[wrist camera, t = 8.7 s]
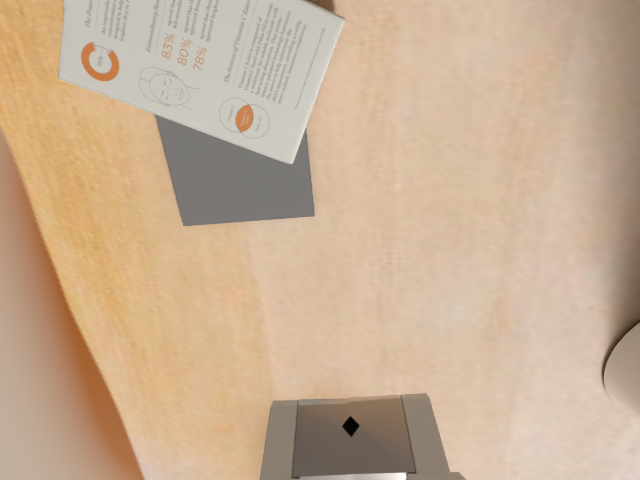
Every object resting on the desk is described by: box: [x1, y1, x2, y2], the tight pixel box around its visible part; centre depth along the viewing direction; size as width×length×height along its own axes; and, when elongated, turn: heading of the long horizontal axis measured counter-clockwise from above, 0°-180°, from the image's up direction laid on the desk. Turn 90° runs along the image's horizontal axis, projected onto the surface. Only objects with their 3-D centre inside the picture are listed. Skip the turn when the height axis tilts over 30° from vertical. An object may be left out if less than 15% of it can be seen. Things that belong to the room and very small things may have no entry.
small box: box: [58, 0, 345, 164], centre depth 24 cm, size 8×6×13 cm
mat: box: [155, 114, 314, 226], centre depth 29 cm, size 10×16×1 cm, turn 5°
